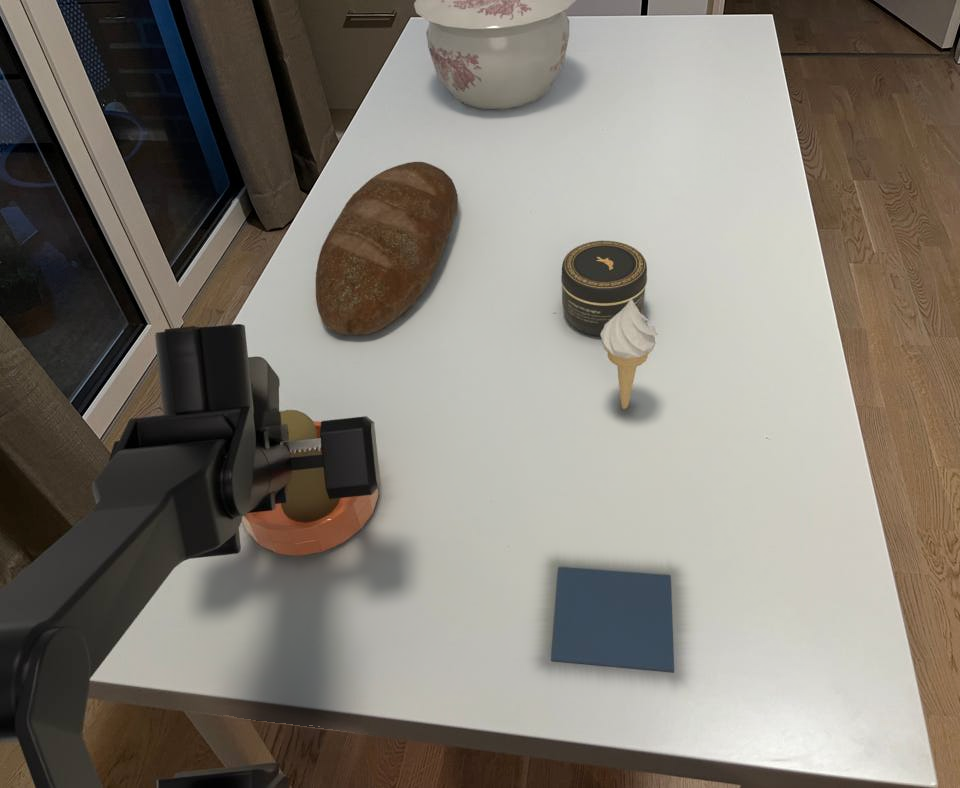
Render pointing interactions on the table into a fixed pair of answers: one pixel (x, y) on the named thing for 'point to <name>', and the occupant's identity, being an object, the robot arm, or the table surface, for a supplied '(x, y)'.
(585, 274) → the jar
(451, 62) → the chamber pot
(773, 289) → the table surface
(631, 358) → the ice cream cone
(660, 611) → the mat
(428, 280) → the bread
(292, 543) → the bowl
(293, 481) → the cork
